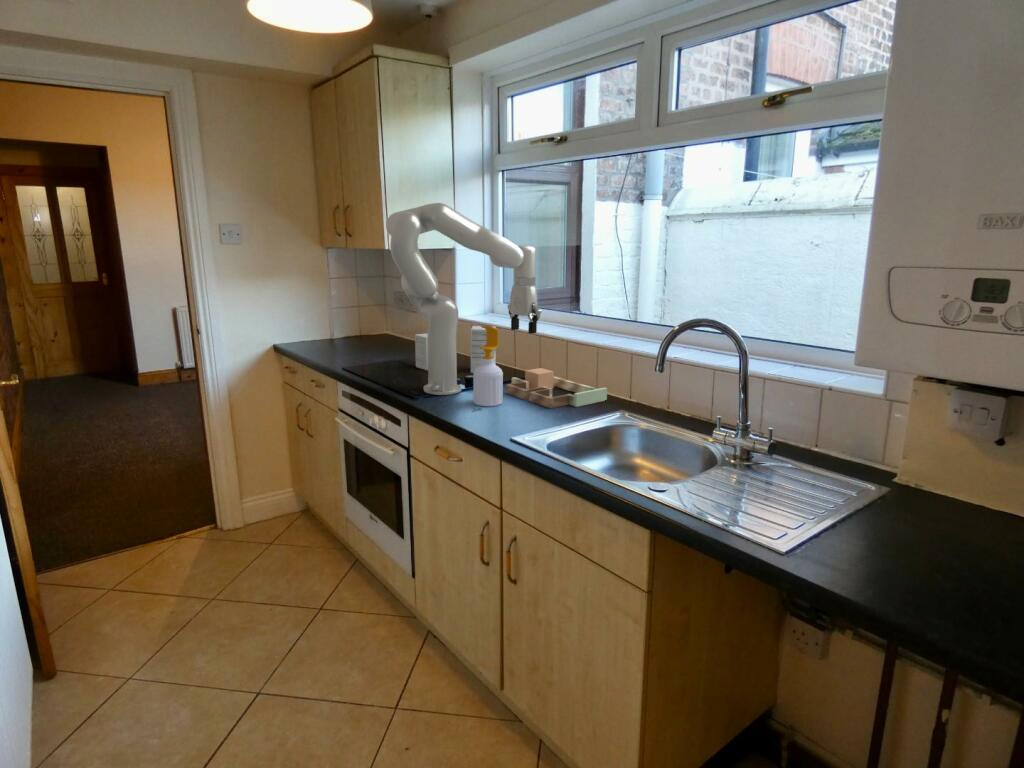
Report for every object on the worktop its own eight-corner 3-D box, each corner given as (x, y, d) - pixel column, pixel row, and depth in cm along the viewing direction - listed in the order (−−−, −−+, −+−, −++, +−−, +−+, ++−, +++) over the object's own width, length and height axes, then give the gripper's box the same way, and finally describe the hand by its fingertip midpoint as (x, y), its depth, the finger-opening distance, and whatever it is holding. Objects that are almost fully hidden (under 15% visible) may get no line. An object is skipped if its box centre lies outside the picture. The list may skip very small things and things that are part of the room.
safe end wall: (573, 406, 194) (574, 393, 193) (603, 399, 202) (604, 387, 201) (576, 406, 193) (576, 394, 192) (606, 400, 201) (607, 388, 200)
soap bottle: (468, 404, 195) (467, 325, 189) (483, 397, 202) (483, 322, 197) (493, 408, 191) (493, 328, 185) (507, 401, 198) (508, 324, 193)
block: (525, 387, 218) (525, 370, 216) (540, 384, 222) (540, 367, 220) (538, 391, 212) (538, 374, 211) (553, 388, 216) (553, 371, 215)
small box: (440, 368, 245) (439, 335, 241) (426, 370, 241) (425, 337, 238) (429, 365, 251) (428, 332, 248) (415, 367, 247) (414, 334, 244)
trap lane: (493, 389, 214) (494, 380, 213) (540, 380, 226) (541, 372, 226) (555, 410, 190) (555, 400, 189) (603, 399, 202) (604, 390, 202)
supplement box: (494, 373, 237) (494, 329, 233) (470, 373, 237) (470, 329, 233) (495, 368, 246) (496, 325, 242) (472, 368, 246) (472, 325, 242)
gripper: (500, 280, 220) (500, 329, 224) (532, 284, 207) (531, 335, 211) (517, 279, 225) (516, 327, 229) (549, 283, 211) (548, 333, 215)
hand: (523, 331), depth 220 cm, fingers open, 9 cm apart
